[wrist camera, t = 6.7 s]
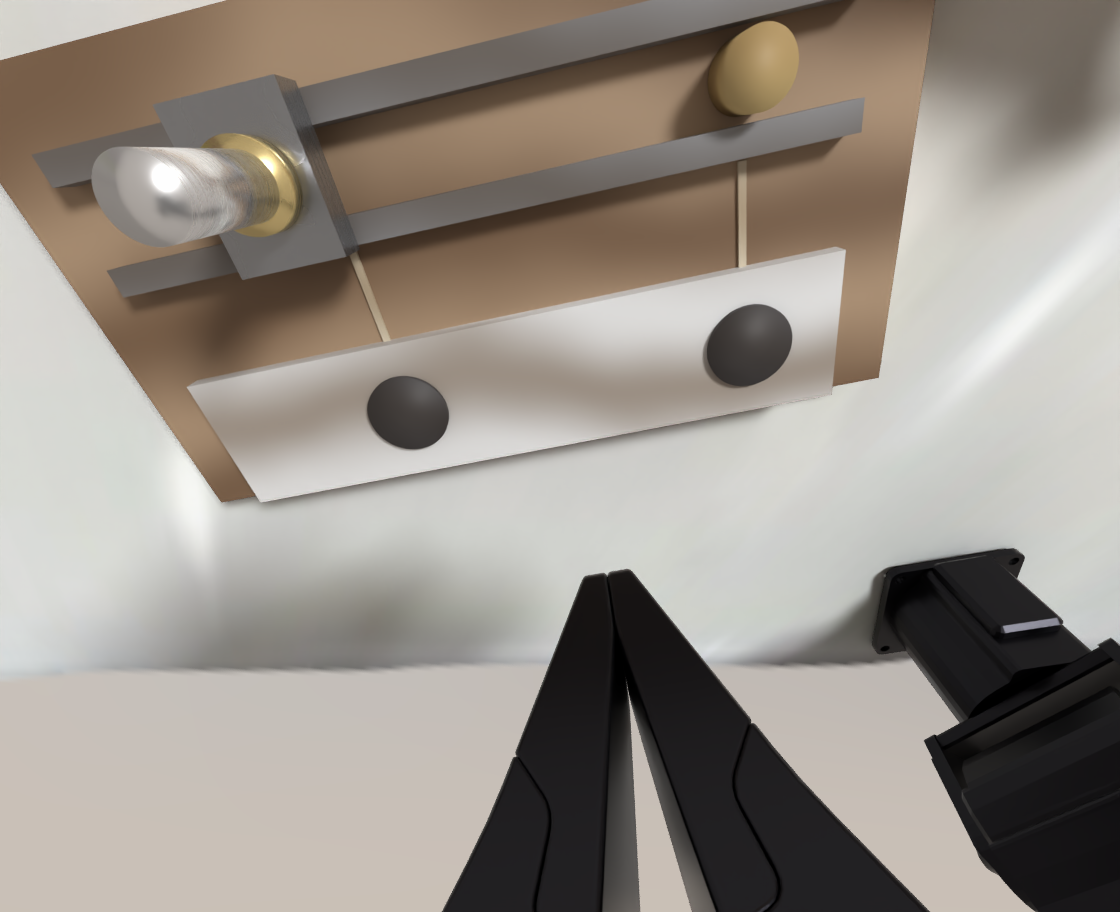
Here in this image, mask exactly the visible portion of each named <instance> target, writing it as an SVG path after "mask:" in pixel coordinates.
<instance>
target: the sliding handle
mask: <svg viewBox="0 0 1120 912" xmlns="http://www.w3.org/2000/svg"><path fill="white" fill-rule="evenodd" d="M153 107H154V109H155V111H156V113H157V115H158V117H159V119H160V121H161V123H162V125H163V127H164V129H165V130H166V132H167V134H168V136H169V138H170V140H171V142H172V144H173V146H174V148H169V147H114V148H110V149H108V150H106V151H104V152H103V153H101V154H100V155H99V156H98V158H97V159H96V161H95V163H94V165H93V168H92V175H91V179H92V187H93V191H94V194H95V197H96V200H97V202H98V204H99V206H100V208H101V209H102V211H103V212H104V214H105V215H106V216H107V218H108V219H109V220H110V221H111V222H112V223H113V224H114V225H115V227H117V228H118V229H119V230H120V231H121V232H123V233H124V234H125V235H127V236H128V237H130V238H131V239H133V240H135V241H137V242H139V243H142V244H145V245H148V246H152V247H169V246H173V245H177V244H181V243H185V242H189V241H193V240H197V239H201V238H205V237H209V236H213V235H217V234H219V236H220V237H221V239H222V241H223V243H224V245H225V247H226V249H227V251H228V253H229V255H230V257H231V259H232V261H233V263H234V265H235V267H236V269H237V271H238V273H239V274H240V276H241V278H242V280H244V279H249V278H253V277H258V276H262V275H267V274H271V273H276V272H280V271H285V270H289V269H294V268H298V267H303V266H307V265H312V264H316V263H321V262H325V261H330V260H334V259H339V258H343V257H347V256H349V255H351V254H353V253H355V252H356V251H358V250H360V248H359V245H358V242H357V240H356V237H355V235H354V232H353V229H352V227H351V224H350V222H349V219H348V216H347V214H346V211H345V208H344V206H343V203H342V201H341V198H340V195H339V193H338V190H337V187H336V185H335V182H334V180H333V177H332V174H331V172H330V169H329V167H328V164H327V161H326V159H325V156H324V153H323V151H322V148H321V146H320V143H319V140H318V138H317V135H316V132H315V130H314V127H313V125H312V122H311V119H310V117H309V114H308V111H307V109H306V106H305V104H304V101H303V98H302V96H301V93H300V91H299V88H298V85H297V83H296V81H295V80H292V79H289V78H285V77H282V76H279V75H275V74H272V75H268V76H264V77H260V78H256V79H252V80H248V81H244V82H240V83H236V84H232V85H228V86H224V87H220V88H216V89H212V90H208V91H204V92H201V93H197V94H193V95H189V96H185V97H181V98H177V99H173V100H169V101H165V102H161V103H157V104H153Z"/></svg>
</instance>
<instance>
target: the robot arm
mask: <svg viewBox="0 0 1120 912" xmlns="http://www.w3.org/2000/svg"><path fill="white" fill-rule="evenodd" d="M1024 559H1025V557H1024V555H1023V554H1022V553H1020V552H1019V551H1018V550H1017V549H1014V548H1012V549H1004V550H998V551H992V552H986V553H980V554H974V555H968V556H962V557H955V558H949V559H943V560H937V561H931V562H925V563H919V564H913V565H906V566H900V567H896V568H893V569H891V570H890V571H888V572H887V574H886V577H885V582H884V587H883V592H882V597H881V602H880V607H879V612H878V616H877V621H876V626H875V631H874V636H873V641H872V647H873V648H874V650H875V651H876V652H877V653H878V654H888V653H894V652H901V651H907V652H908V654H909V655H910V656H911V658H912V659H913V661H914V662H915V663H916V665H917V666H918V667H919V669H920V670H921V671H922V673H923V674H924V675H925V677H926V678H927V679H928V681H929V682H930V683H931V685H932V686H933V688H934V689H935V690H936V692H937V693H938V694H939V696H940V697H941V698H942V700H943V701H944V702H945V704H946V705H947V706H948V708H949V709H950V711H951V712H952V713H953V715H954V716H955V717H956V719H957V720H958V721H959V724H958V725H956V726H954V727H952V728H950V729H948V730H947V731H945V732H943V733H941V734H939V735H938V736H936V735H932V736H931V737H929V738H927V739H925V740H924V742H925V744H926V746H927V748H928V750H929V752H930V754H931V756H932V762H933V764H934V766H935V768H936V770H937V772H938V774H939V776H940V778H941V780H942V782H943V784H944V786H945V788H946V790H947V792H948V794H949V796H950V798H951V800H952V802H953V804H954V806H955V808H956V810H957V812H958V814H959V816H960V818H961V820H962V823H963V824H964V827H965V828H966V831H967V832H968V835H969V836H970V839H971V841H972V843H973V845H974V847H975V848H976V850H977V853H978V856H979V858H980V859H981V861H982V863H983V864H984V865H985V866H986V868H987V869H989V870H990V871H991V872H993V873H995V874H997V875H999V876H1000V877H1001V878H1002V880H1003V881H1004V882H1005V883H1006V884H1007V885H1008V886H1009V888H1010V889H1011V890H1012V891H1013V892H1014V893H1015V894H1016V895H1017V896H1018V897H1019V898H1020V899H1021V900H1022V901H1023V902H1024V903H1025V904H1026V905H1028V906H1029V907H1030V908H1031V909H1033V910H1034V911H1035V912H1120V644H1118V643H1117V642H1116V641H1114V640H1113V639H1112V638H1109V639H1107V640H1105V641H1103V642H1102V643H1100V644H1098V646H1099V647H1098V648H1097V649H1095V650H1093V651H1091V650H1090V649H1089V648H1088V647H1087V646H1085V645H1084V644H1083V643H1082V642H1081V641H1080V640H1079V639H1078V638H1077V637H1075V636H1074V635H1073V634H1072V633H1071V632H1070V631H1069V630H1068V629H1067V628H1065V627H1064V626H1063V625H1062V624H1063V620H1062V619H1061V618H1060V617H1059V616H1058V615H1057V614H1056V613H1055V612H1054V611H1053V610H1051V609H1050V608H1049V607H1048V606H1047V605H1046V604H1045V603H1044V602H1042V601H1041V600H1040V599H1039V598H1038V597H1037V596H1036V595H1035V594H1033V593H1032V592H1031V591H1030V590H1029V589H1028V588H1027V587H1026V586H1024V585H1023V584H1022V583H1021V582H1020V581H1019V580H1018V579H1017V577H1018V575H1019V572H1020V570H1021V567H1022V564H1023V562H1024ZM626 682H627V683H626ZM627 687H628V689H627ZM628 691H629V696H630V701H631V705H632V708H633V712H634V716H635V719H636V722H637V726H638V729H639V733H640V735H641V740H642V743H643V746H644V750H645V753H646V757H647V760H648V763H649V767H650V770H651V773H652V777H653V780H654V784H655V787H656V790H657V794H658V797H659V801H660V804H661V808H662V811H663V814H664V818H665V821H666V825H667V828H668V831H669V835H670V838H671V842H672V845H673V848H674V852H675V855H676V859H677V862H678V865H679V869H680V872H681V876H682V879H683V882H684V886H685V889H686V893H687V896H688V899H689V903H690V906H691V910H692V912H930V911H929V910H927V908H926V907H925V906H924V905H922V903H921V902H920V901H919V900H918V899H917V898H916V897H915V896H914V895H913V894H912V893H911V892H910V891H909V890H908V889H907V888H906V887H905V886H904V885H903V884H902V883H901V882H900V881H899V880H898V879H897V878H896V877H895V876H894V875H893V874H892V873H891V872H890V871H889V870H888V869H887V868H886V867H885V866H884V865H883V864H882V863H881V862H880V861H879V860H878V859H877V858H876V857H875V856H874V855H873V854H872V853H871V851H869V850H868V849H867V847H866V846H865V845H864V844H863V843H862V842H861V841H860V840H859V839H858V838H857V837H856V836H855V835H854V834H853V833H852V832H851V831H850V830H849V829H848V828H847V827H846V826H845V825H844V824H843V823H842V822H841V821H840V820H839V819H838V818H837V817H836V816H835V815H834V814H833V813H832V812H831V811H830V809H829V808H828V807H827V806H826V805H825V804H824V803H823V802H822V801H821V800H820V799H819V798H818V797H817V796H816V795H815V794H814V792H813V791H812V790H811V789H810V788H809V787H808V786H807V785H806V784H805V783H804V782H803V781H802V780H801V779H800V777H799V776H798V775H797V774H796V773H795V771H794V770H793V769H792V768H791V767H790V766H789V764H788V763H787V762H786V761H785V760H784V759H783V757H782V756H781V755H780V754H779V753H778V752H777V750H776V749H775V748H774V747H773V746H772V745H771V743H770V742H769V741H768V739H767V738H766V737H765V736H764V735H763V733H762V732H761V731H760V730H759V728H758V727H757V726H756V725H755V724H754V723H752V724H751V719H750V717H749V716H748V715H747V714H746V712H745V711H744V710H743V709H742V707H741V706H740V705H739V704H738V702H737V701H736V700H735V699H734V698H733V696H732V695H731V694H730V692H729V691H728V690H727V689H726V687H725V686H724V685H723V684H722V683H721V681H720V680H719V679H718V678H717V676H716V675H715V674H714V673H713V671H712V670H711V669H710V668H709V666H708V665H707V664H706V663H705V661H704V660H703V659H702V658H701V656H700V655H699V654H698V653H697V651H696V650H695V649H694V648H693V646H692V645H691V644H690V643H689V641H688V640H687V639H686V638H685V636H684V635H683V634H682V633H681V631H680V630H679V629H678V628H677V626H676V625H675V624H674V623H673V621H672V620H671V619H670V618H669V617H668V615H667V614H666V613H665V612H664V610H663V609H662V608H661V607H660V605H659V604H658V603H657V602H656V600H655V599H654V598H653V597H652V595H651V594H650V593H649V592H648V590H647V589H646V588H645V587H644V585H643V584H642V583H641V582H640V580H639V579H638V578H637V577H636V575H635V574H634V573H633V572H632V571H631V570H629V569H624V570H618V571H612V572H609V573H608V577H607V575H606V574H605V573H600V574H594V575H588V576H585V577H584V578H583V580H582V582H581V584H580V587H579V590H578V592H577V595H576V597H575V600H574V602H573V605H572V608H571V610H570V613H569V615H568V618H567V621H566V623H565V626H564V628H563V631H562V633H561V636H560V639H559V641H558V644H557V646H556V649H555V651H554V654H553V657H552V659H551V662H550V664H549V667H548V669H547V672H546V675H545V677H544V680H543V682H542V685H541V687H540V690H539V693H538V695H537V698H536V700H535V703H534V705H533V708H532V711H531V713H530V716H529V718H528V721H527V724H526V726H525V729H524V731H523V734H522V737H521V739H520V742H519V744H518V747H517V749H516V756H517V757H514V758H513V759H512V762H511V764H510V767H509V769H508V772H507V774H506V777H505V780H504V782H503V785H502V787H501V790H500V792H499V794H498V796H497V799H496V801H495V804H494V806H493V808H492V811H491V813H490V816H489V818H488V820H487V822H486V825H485V827H484V829H483V831H482V833H481V835H480V837H479V839H478V841H477V843H476V845H475V847H474V849H473V851H472V853H471V856H470V858H469V860H468V862H467V864H466V866H465V868H464V870H463V872H462V874H461V876H460V878H459V880H458V881H457V883H456V885H455V887H454V889H453V891H452V893H451V895H450V897H449V899H448V901H447V903H446V905H445V907H444V909H443V911H442V912H640V900H639V899H640V898H639V881H638V880H639V879H638V858H637V839H636V819H635V800H634V780H633V761H632V742H631V723H630V707H629V697H628Z"/></svg>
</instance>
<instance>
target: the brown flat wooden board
mask: <svg viewBox="0 0 1120 912" xmlns="http://www.w3.org/2000/svg"><path fill="white" fill-rule="evenodd" d="M934 5H935V0H226V1H222V2H218V3H215V4H211V5H207V6H203V7H200V8H196V9H192V10H188V11H185V12H181V13H177V14H173V15H170V16H166V17H162V18H158V19H154V20H151V21H147V22H143V23H139V24H136V25H132V26H128V27H124V28H121V29H117V30H113V31H109V32H105V33H102V34H98V35H94V36H90V37H87V38H83V39H79V40H75V41H72V42H68V43H64V44H60V45H57V46H53V47H49V48H45V49H41V50H38V51H34V52H30V53H26V54H23V55H19V56H15V57H11V58H8V59H4V60H0V183H1V185H2V186H3V188H4V189H5V191H6V192H7V193H8V195H9V196H10V198H11V199H12V201H13V202H14V204H15V205H16V206H17V208H18V209H19V211H20V212H21V214H22V215H23V217H24V218H25V219H26V221H27V222H28V224H29V225H30V227H31V228H32V230H33V231H34V232H35V234H36V235H37V237H38V238H39V240H40V241H41V243H42V244H43V245H44V247H45V248H46V250H47V251H48V253H49V254H50V256H51V257H52V258H53V260H54V261H55V263H56V264H57V266H58V267H59V269H60V270H61V271H62V273H63V274H64V276H65V277H66V279H67V280H68V282H69V283H70V284H71V286H72V287H73V289H74V290H75V292H76V293H77V295H78V296H79V297H80V299H81V300H82V302H83V303H84V305H85V306H86V308H87V309H88V310H89V312H90V313H91V315H92V316H93V318H94V319H95V321H96V322H97V323H98V325H99V326H100V328H101V329H102V331H103V332H104V334H105V335H106V336H107V338H108V339H109V341H110V342H111V344H112V345H113V347H114V348H115V349H116V351H117V352H118V354H119V355H120V357H121V358H122V360H123V361H124V362H125V364H126V365H127V367H128V368H129V370H130V371H131V373H132V374H133V375H134V377H135V378H136V380H137V381H138V383H139V384H140V386H141V387H142V388H143V390H144V391H145V393H146V394H147V396H148V397H149V399H150V400H151V401H152V403H153V404H154V406H155V407H156V409H157V410H158V412H159V413H160V414H161V416H162V417H163V419H164V420H165V422H166V423H167V425H168V426H169V427H170V429H171V430H172V432H173V433H174V435H175V436H176V438H177V439H178V440H179V442H180V443H181V445H182V446H183V448H184V449H185V451H186V452H187V453H188V455H189V456H190V458H191V459H192V461H193V462H194V464H195V465H196V466H197V468H198V469H199V471H200V472H201V474H202V475H203V477H204V478H205V479H206V481H207V482H208V484H209V485H210V487H211V488H212V490H213V491H214V492H215V494H216V495H217V497H218V498H219V500H220V501H221V502H226V501H232V500H237V499H242V498H248V497H253V496H257V498H258V499H259V501H260V502H266V501H272V500H277V499H282V498H288V497H293V496H298V495H303V494H309V493H314V492H319V491H325V490H330V489H335V488H341V487H346V486H351V485H356V484H362V483H367V482H372V481H378V480H383V479H388V478H394V477H399V476H404V475H409V474H415V473H420V472H425V471H431V470H436V469H441V468H446V467H452V466H457V465H462V464H468V463H473V462H478V461H484V460H489V459H494V458H499V457H505V456H510V455H515V454H521V453H526V452H531V451H537V450H542V449H547V448H552V447H558V446H563V445H568V444H574V443H579V442H584V441H590V440H595V439H600V438H605V437H611V436H616V435H621V434H627V433H632V432H637V431H643V430H648V429H653V428H658V427H664V426H669V425H674V424H680V423H685V422H690V421H696V420H701V419H706V418H711V417H717V416H722V415H727V414H733V413H738V412H743V411H748V410H754V409H759V408H764V407H770V406H775V405H780V404H786V403H791V402H796V401H801V400H807V399H812V398H817V397H823V396H828V395H832V386H837V385H843V384H848V383H853V382H858V381H864V380H869V379H874V378H879V371H880V365H881V358H882V351H883V345H884V338H885V331H886V325H887V318H888V311H889V305H890V298H891V291H892V285H893V278H894V271H895V265H896V258H897V251H898V245H899V238H900V231H901V225H902V218H903V212H904V205H905V198H906V192H907V185H908V178H909V172H910V165H911V158H912V152H913V145H914V138H915V132H916V125H917V118H918V112H919V105H920V98H921V92H922V85H923V78H924V72H925V65H926V58H927V52H928V45H929V38H930V32H931V25H932V18H933V12H934ZM272 74H275V75H279V76H282V77H285V78H289V79H292V80H295V81H296V83H297V85H298V88H299V91H300V93H301V96H302V98H303V101H304V104H305V106H306V109H307V111H308V114H309V117H310V119H311V122H312V125H313V127H314V130H315V132H316V135H317V138H318V140H319V143H320V146H321V148H322V151H323V153H324V156H325V159H326V161H327V164H328V167H329V169H330V172H331V174H332V177H333V180H334V182H335V185H336V187H337V190H338V193H339V195H340V198H341V201H342V203H343V206H344V208H345V211H346V214H347V216H348V219H349V222H350V224H351V227H352V229H353V232H354V235H355V237H356V240H357V242H358V245H359V248H360V250H358V251H356V252H355V253H353V254H351V255H349V256H347V257H343V258H339V259H334V260H330V261H325V262H321V263H316V264H312V265H307V266H303V267H298V268H294V269H289V270H285V271H280V272H276V273H271V274H267V275H262V276H258V277H253V278H249V279H244V280H242V278H241V276H240V274H239V273H238V271H237V269H236V267H235V265H234V263H233V261H232V259H231V257H230V255H229V253H228V251H227V249H226V247H225V245H224V243H223V241H222V239H221V237H220V236H219V234H217V235H213V236H209V237H205V238H201V239H197V240H193V241H189V242H185V243H181V244H177V245H173V246H169V247H152V246H148V245H145V244H142V243H139V242H137V241H135V240H133V239H131V238H130V237H128V236H127V235H125V234H124V233H123V232H121V231H120V230H119V229H118V228H117V227H115V225H114V224H113V223H112V222H111V221H110V220H109V219H108V218H107V216H106V215H105V214H104V212H103V211H102V209H101V208H100V206H99V204H98V202H97V200H96V197H95V194H94V191H93V187H92V179H91V175H92V168H93V165H94V163H95V161H96V159H97V158H98V156H99V155H100V154H101V153H103V152H104V151H106V150H108V149H110V148H114V147H169V148H174V146H173V144H172V142H171V140H170V138H169V136H168V134H167V132H166V130H165V129H164V127H163V125H162V123H161V121H160V119H159V117H158V115H157V113H156V111H155V109H154V107H153V104H157V103H161V102H165V101H169V100H173V99H177V98H181V97H185V96H189V95H193V94H197V93H201V92H204V91H208V90H212V89H216V88H220V87H224V86H228V85H232V84H236V83H240V82H244V81H248V80H252V79H256V78H260V77H264V76H268V75H272Z"/></svg>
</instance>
